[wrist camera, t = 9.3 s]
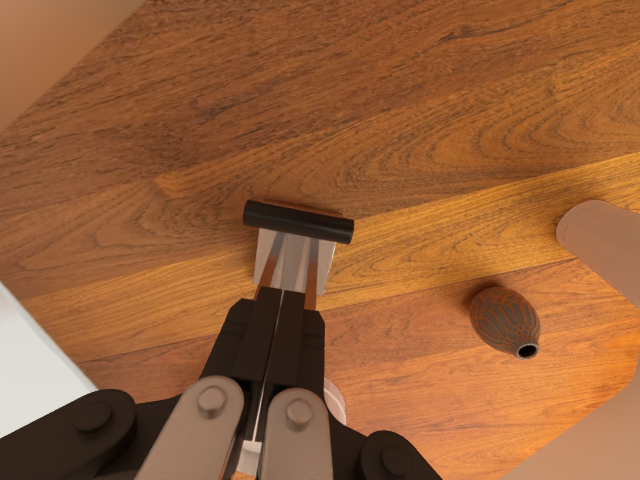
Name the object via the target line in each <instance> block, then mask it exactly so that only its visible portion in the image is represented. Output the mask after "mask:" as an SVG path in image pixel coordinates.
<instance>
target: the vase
mask: <svg viewBox="0 0 640 480" xmlns="http://www.w3.org/2000/svg"><path fill="white" fill-rule="evenodd" d="M469 316H470V321H471V324H472V326H473V328H474V330H475V331H476V333H477V334H478V336H479V337H480V338H481V339H482V340H483V341H484V342H485V343H486V344H488V345H489V346H491V347H492V348H494V349H496V350H498V351H501V352H505V353H508V354H512V355H514V356H516V357H517V358H519V359H522V360H527V359H531V358H533V357H535V356H536V355H537V354H538V353H539V344H538V341H539V336H540V321H539V318H538V315H537V313H536V311H535V310H534V308H533V307H532V305H531V304H530V303H529V302H528V301H527V300H526V299H525V298H524V297H523V296H521V295H520V294H518V293H517V292H515V291H513V290H510V289H507V288H504V287H491V288H487V289H484V290H482V291H480V292H479V293H478V294H476V295H475V297H474V298H473V299H472V301H471V304H470V307H469Z"/></svg>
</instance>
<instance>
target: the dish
mask: <svg viewBox="0 0 640 480" xmlns="http://www.w3.org/2000/svg"><path fill="white" fill-rule="evenodd" d="M268 365H269V364H268ZM265 379H266V378H265ZM264 384H265V383H264ZM263 390H264V388H263ZM262 396H263V392H262ZM324 397H325V401H326V404H327V407H328V408H329V410H330V412H331V413H332V414H333V416H334V417H335V418H336V419H337V420H338V421H340V422H341V423H342V424H344V425H345V426H346V417H345V401H344V399H343V397H342V395H341V393H340V390H339V389H338V388H337V387H336V386H335V385H334V384H333V383H332V382H331V380H330V379H328V378H326V377H325V376H324ZM261 401H262V397H261ZM260 407H261V402H260V406H259V411H258V416H257V420H256V425H255V430H254V434H253V439H252V441H245V440H244V442H243V446H242V450H241V455H240V459H239V463H238V466H237V469H236V470H237V471H239V472H241V473H245V474H248V475H252V476H255V477H256V472H257V467H258V461H259V456H260V450H261V445H262V443H261V442H255V436H256V431H257V425H258V419H259V413H260Z"/></svg>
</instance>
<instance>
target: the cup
mask: <svg viewBox="0 0 640 480" xmlns="http://www.w3.org/2000/svg"><path fill="white" fill-rule="evenodd" d="M556 238H557V241H558V243H559V244H560V245H561V246H562V247H564V248H565V249H567V250H568V251H570V252H571V253H572V254H574V255H575V256H576V257H577V258H578V259H580V260H581V261H582V262H583V263H584V264H586V265H587V266H588V267H589V268H590V269H592V270H593V271H594V272H595V273H597V274H598V275H599V276H600V277H601V278H603V279H604V280H605V281H606V282H607V283H609V284H610V285H611V286H612V287H614V288H615V289H616V290H617V291H618V292H619V293H620V294H622V295H623V296H624V297H625V298H626V299H628V300H629V301H630V302H631V303H632V304H633V305H635V306H636V307H637V308H638V309H639V310H640V214H639V213H635V212H632V211H629V210H626V209H623V208H619V207H617V206H615V205H613V204H610V203H608V202H606V201H602V200H589V201H585V202H582V203H580V204H578V205H576V206H574V207H573V208H571V209H570V210H569V211H568V212H567V213H566V214H565V215H564V216H563V217H562V218H561V220H560V221H559V223H558V226H557V229H556Z"/></svg>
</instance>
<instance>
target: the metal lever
mask: <svg viewBox="0 0 640 480" xmlns="http://www.w3.org/2000/svg"><path fill="white" fill-rule="evenodd" d="M243 224H244V225H245V226H251V227H256V228H262V229H267V230H272V231H278V232H283V233H287V239H286V247H285V254H284V262H283V269H282V277H281V284H280V289H283V290H282V297H281V302H280V308H281V304H282V299H283V294H284V290H289V291H295V287H296V283H297V278H298V274H299V269H300V264H301V260H302V255H303V250H304V246H305V241H306V237H310V238H315V239H320V240H326V241H331V242H336V243H342V244H347V245H348V244H350V242H351V239H352V236H353V231H354V220H352V219H347V218H341V217H336V216H331V215H326V214H321V213H315V212H310V211H305V210H300V209H295V208H289V207H284V206H279V205H274V204H269V203H263V202H258V201H253V200H248V201H247V202H246V205H245V208H244V213H243ZM280 308H279V313H280ZM278 318H279V314H278ZM277 322H278V319H277ZM276 327H277V325H276ZM275 331H276V330H275Z"/></svg>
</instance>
